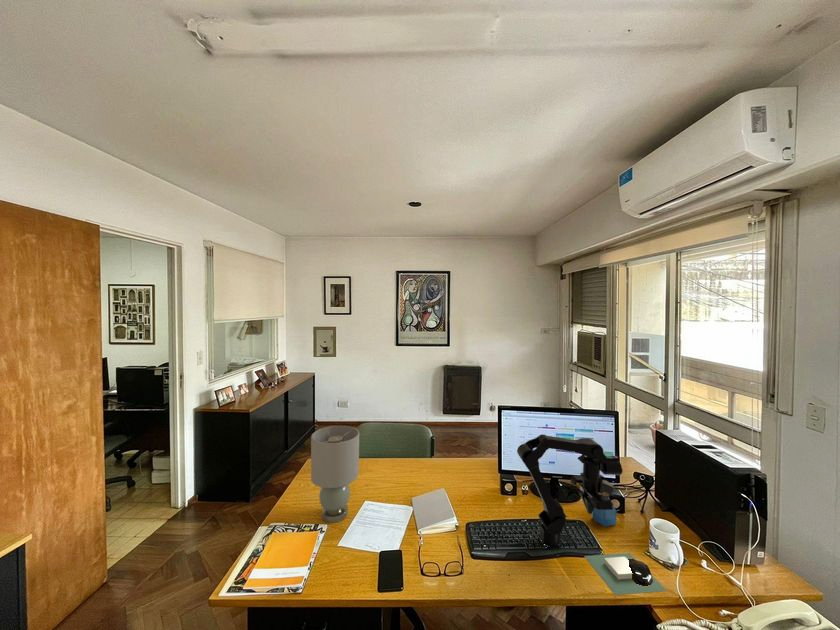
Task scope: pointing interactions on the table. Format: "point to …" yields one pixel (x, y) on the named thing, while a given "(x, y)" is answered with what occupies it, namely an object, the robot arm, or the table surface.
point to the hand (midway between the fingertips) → (589, 513)
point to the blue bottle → (605, 515)
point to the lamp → (334, 468)
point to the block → (619, 567)
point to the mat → (623, 584)
